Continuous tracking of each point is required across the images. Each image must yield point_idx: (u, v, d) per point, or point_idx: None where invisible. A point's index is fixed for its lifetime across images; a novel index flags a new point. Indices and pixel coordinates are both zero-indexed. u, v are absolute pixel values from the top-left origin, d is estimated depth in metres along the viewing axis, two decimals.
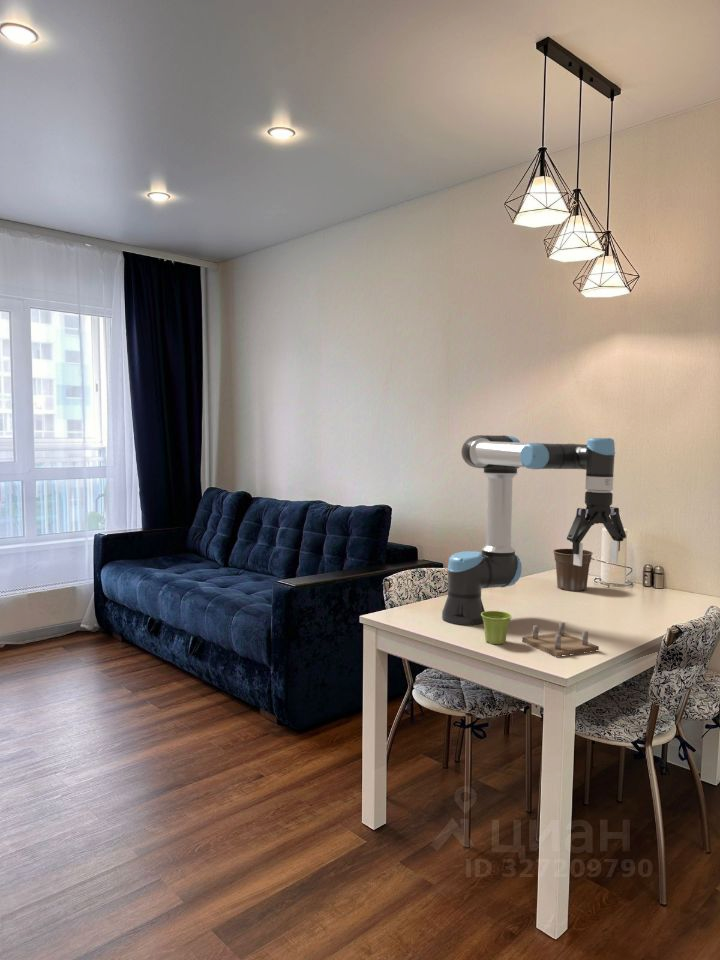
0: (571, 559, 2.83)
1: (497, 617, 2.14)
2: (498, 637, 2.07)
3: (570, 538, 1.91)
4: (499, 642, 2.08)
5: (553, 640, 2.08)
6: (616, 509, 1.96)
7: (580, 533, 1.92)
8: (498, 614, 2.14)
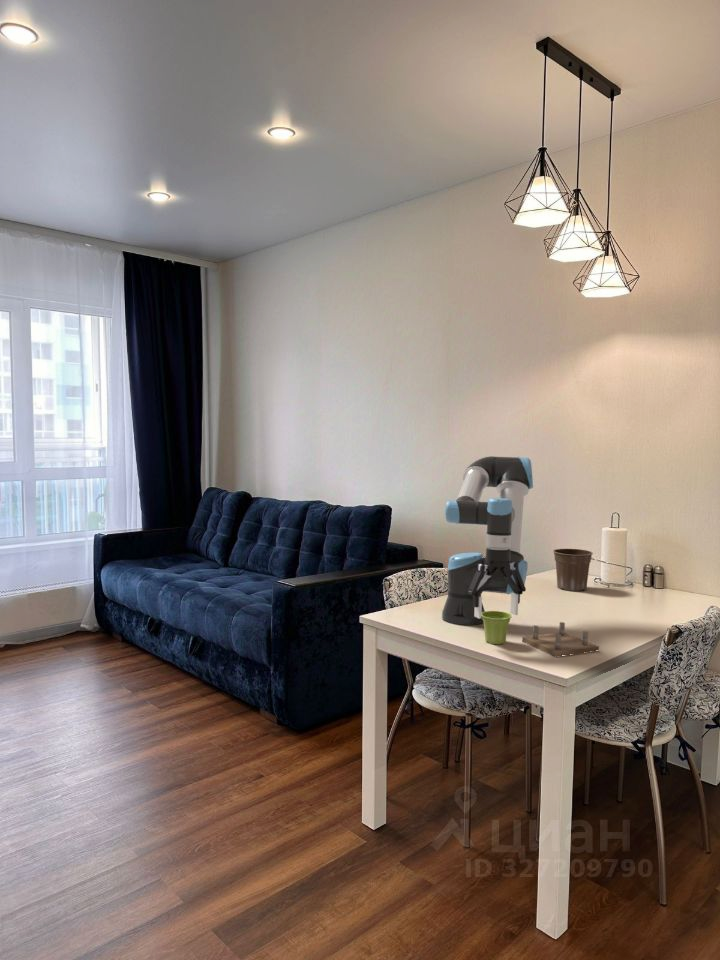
0: (571, 559, 2.83)
1: (497, 617, 2.14)
2: (498, 637, 2.07)
3: (470, 592, 2.05)
4: (499, 642, 2.08)
5: (553, 640, 2.08)
6: (515, 564, 2.10)
7: (480, 587, 2.06)
8: (498, 614, 2.14)
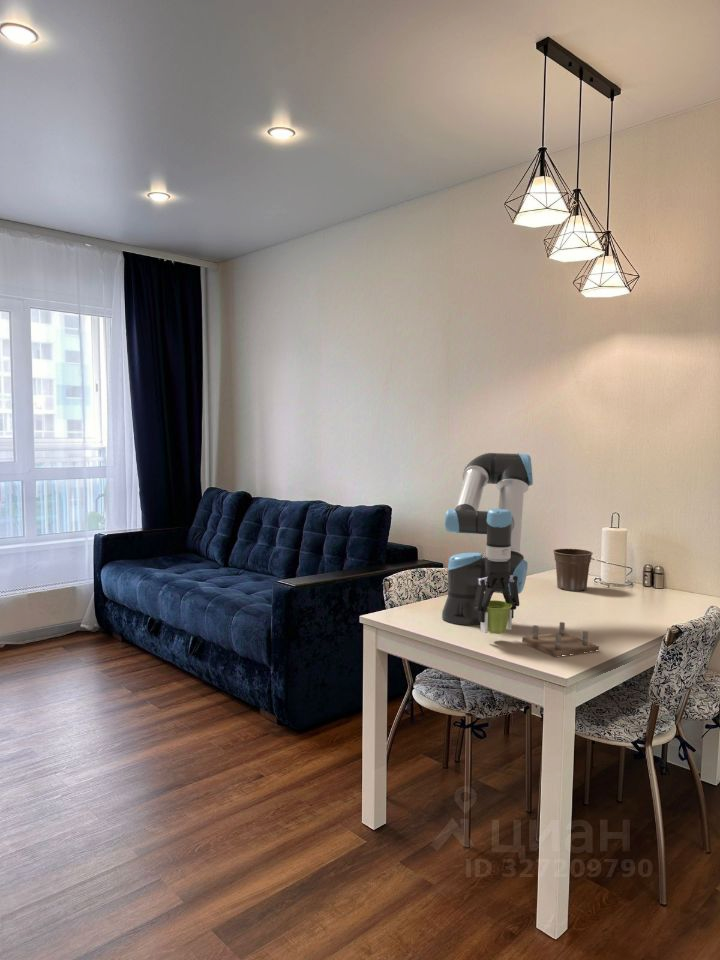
0: (571, 559, 2.83)
1: (497, 607, 2.14)
2: (498, 627, 2.08)
3: (476, 608, 2.07)
4: (499, 631, 2.08)
5: (553, 640, 2.08)
6: (515, 577, 2.11)
7: (484, 602, 2.08)
8: (498, 604, 2.14)
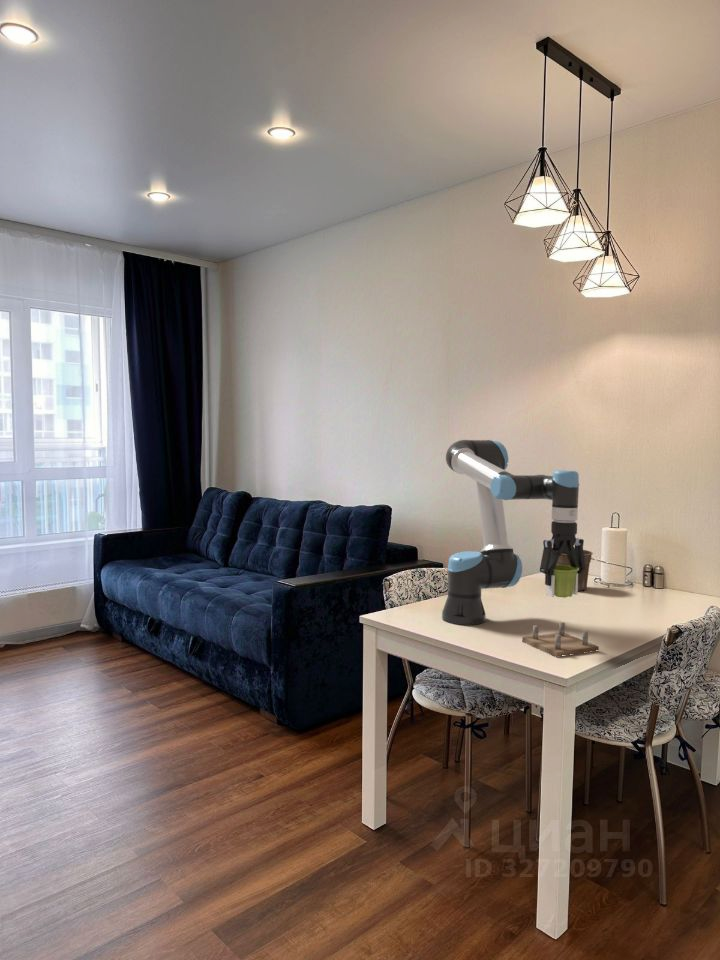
0: None
1: None
2: (566, 590, 2.03)
3: (542, 570, 2.02)
4: (566, 595, 2.03)
5: (553, 640, 2.08)
6: (581, 540, 2.06)
7: (550, 565, 2.03)
8: (563, 568, 2.10)
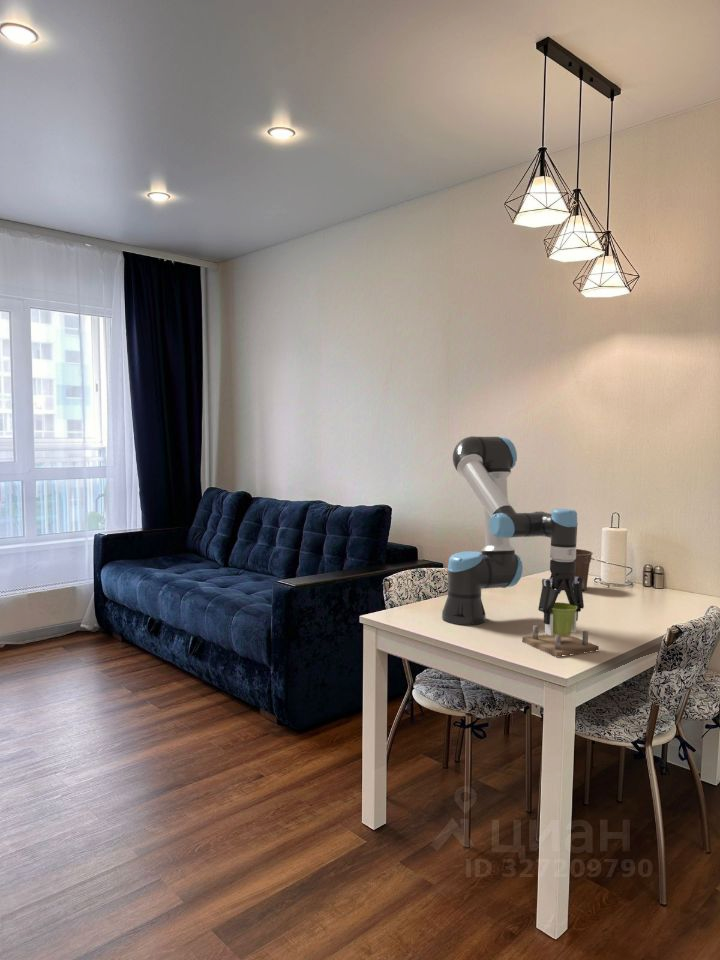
0: None
1: (561, 609, 2.10)
2: (564, 629, 2.03)
3: (541, 609, 2.03)
4: (565, 634, 2.04)
5: (553, 640, 2.08)
6: (579, 578, 2.07)
7: (549, 604, 2.04)
8: (562, 606, 2.10)
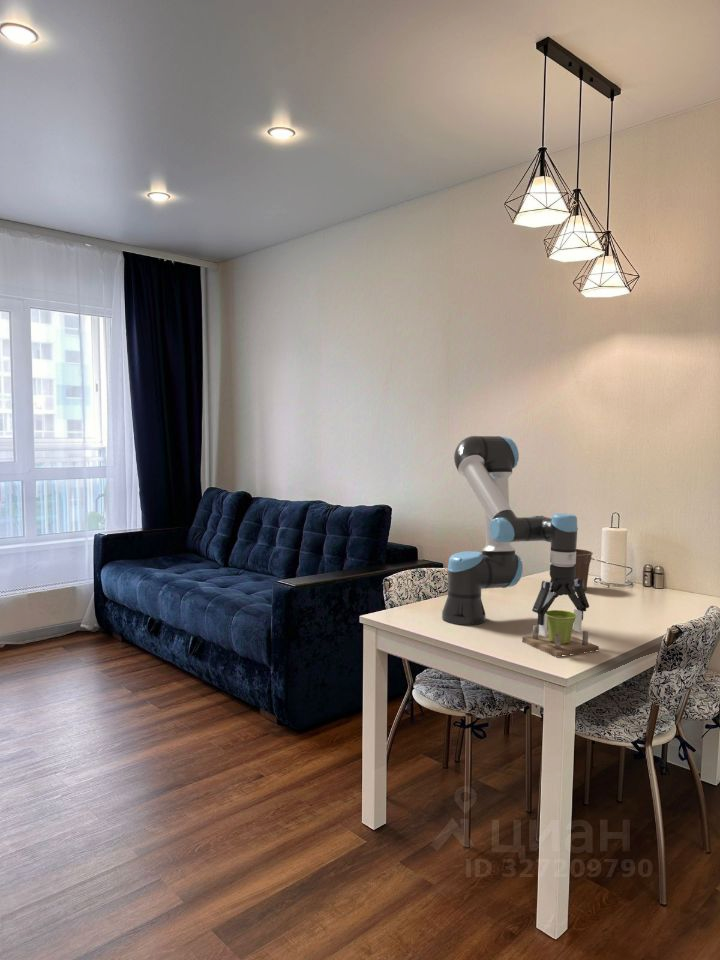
0: None
1: (560, 617, 2.10)
2: (563, 637, 2.04)
3: (535, 610, 2.02)
4: (564, 642, 2.04)
5: None
6: (579, 581, 2.07)
7: (545, 605, 2.03)
8: (561, 613, 2.11)
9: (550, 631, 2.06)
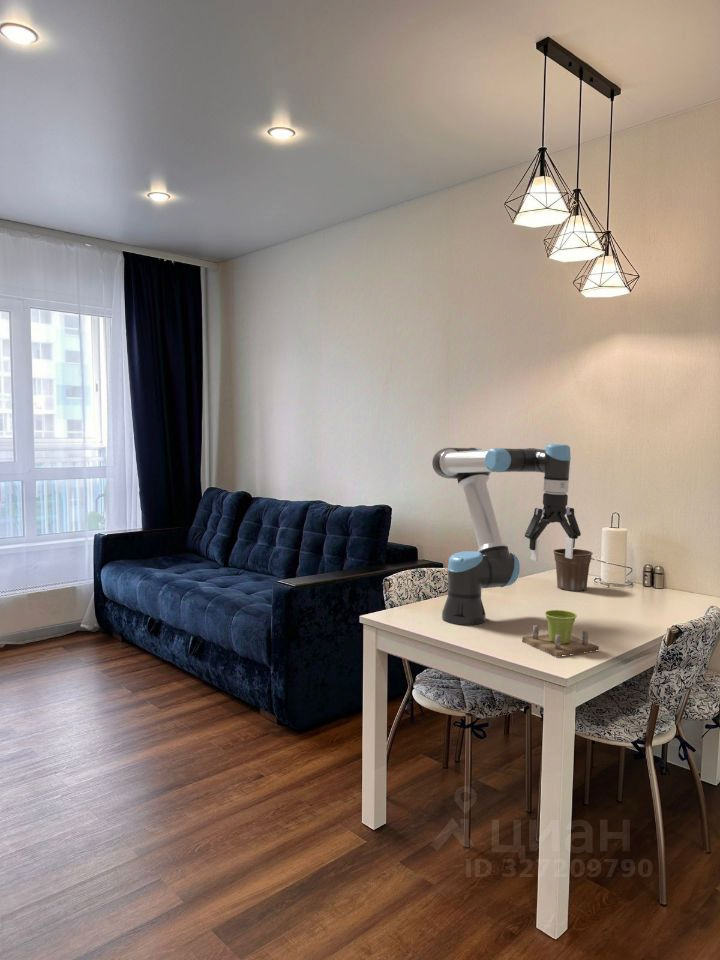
0: (570, 559, 2.83)
1: (560, 617, 2.10)
2: (563, 637, 2.04)
3: (527, 535, 2.10)
4: (564, 642, 2.04)
5: None
6: (571, 509, 2.15)
7: (537, 531, 2.11)
8: (561, 613, 2.11)
9: (550, 631, 2.06)
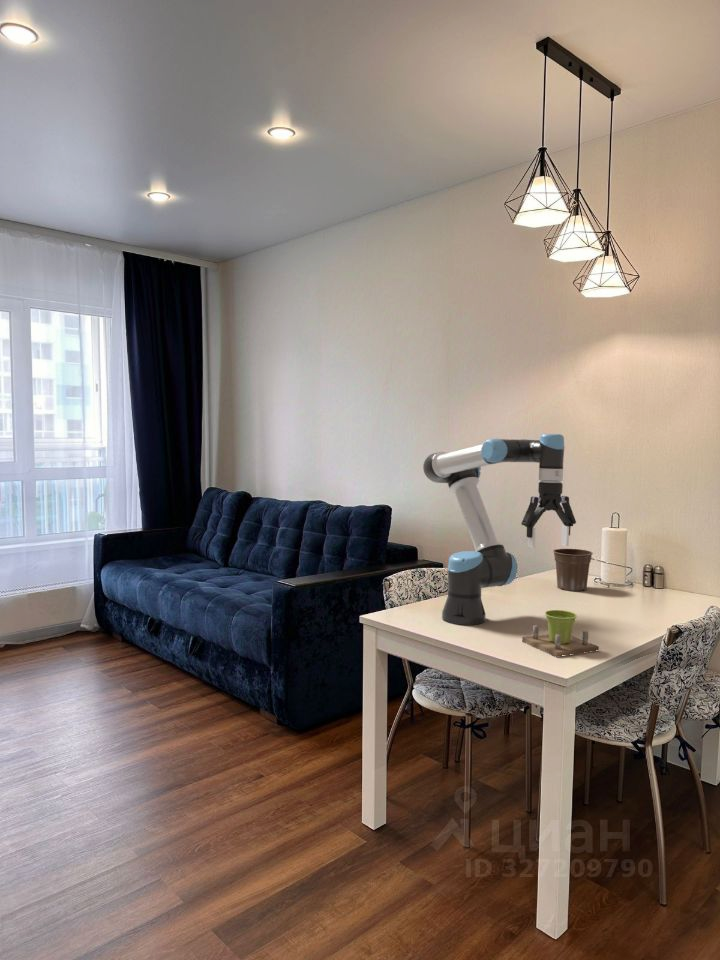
0: (570, 559, 2.83)
1: (560, 617, 2.10)
2: (563, 637, 2.04)
3: (524, 523, 2.14)
4: (564, 642, 2.04)
5: None
6: (566, 498, 2.20)
7: (533, 519, 2.15)
8: (561, 613, 2.11)
9: (550, 631, 2.06)
